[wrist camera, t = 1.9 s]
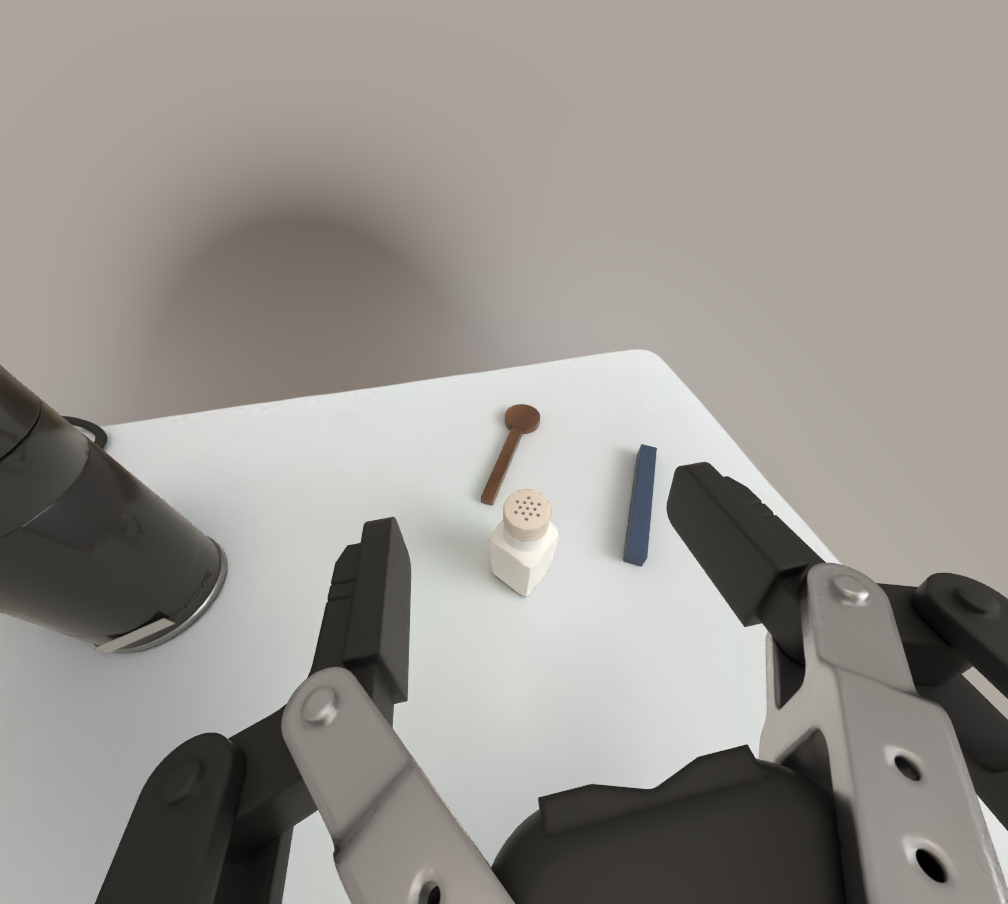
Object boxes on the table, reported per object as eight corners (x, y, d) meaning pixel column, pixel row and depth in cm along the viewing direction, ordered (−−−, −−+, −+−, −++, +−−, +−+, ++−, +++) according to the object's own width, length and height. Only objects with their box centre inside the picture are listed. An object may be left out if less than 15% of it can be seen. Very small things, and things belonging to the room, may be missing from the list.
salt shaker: (553, 565, 32) (569, 504, 25) (526, 602, 30) (535, 547, 23) (516, 538, 34) (521, 474, 27) (488, 572, 32) (485, 512, 25)
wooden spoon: (467, 498, 37) (466, 493, 36) (511, 406, 46) (511, 401, 45) (506, 509, 36) (506, 504, 35) (543, 414, 45) (543, 408, 44)
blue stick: (623, 561, 33) (627, 552, 32) (637, 453, 41) (641, 443, 40) (641, 566, 32) (647, 558, 31) (652, 457, 40) (656, 447, 39)
